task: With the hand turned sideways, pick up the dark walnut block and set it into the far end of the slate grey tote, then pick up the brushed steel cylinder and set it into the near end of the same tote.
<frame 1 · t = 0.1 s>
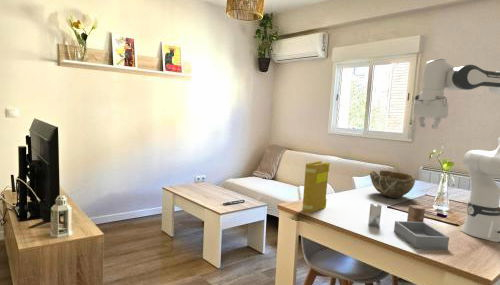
hand: (428, 127, 146), 48 cm above the table, tool pointing down, fingers open, 8 cm apart
bowl: (389, 196, 214), on the table
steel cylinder: (373, 225, 156), on the table
book: (312, 209, 177), on the table
walnut block: (414, 227, 157), on the table
tote: (419, 240, 141), on the table
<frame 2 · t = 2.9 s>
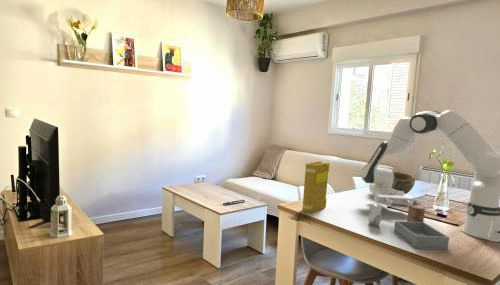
hand: (401, 204, 168), 8 cm above the table, tool horizontal, fingers open, 8 cm apart
nothing on the table moved.
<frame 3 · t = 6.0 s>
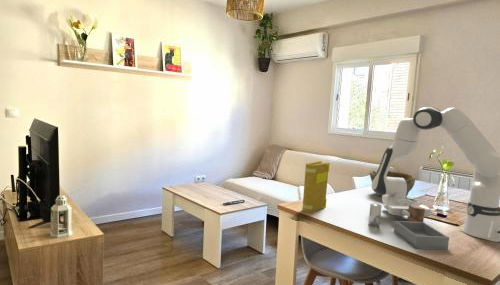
hand: (416, 215, 156), 6 cm above the table, tool horizontal, fingers closed on walnut block, 5 cm apart
walnut block: (414, 227, 157), on the table, touching gripper
everything else where it was.
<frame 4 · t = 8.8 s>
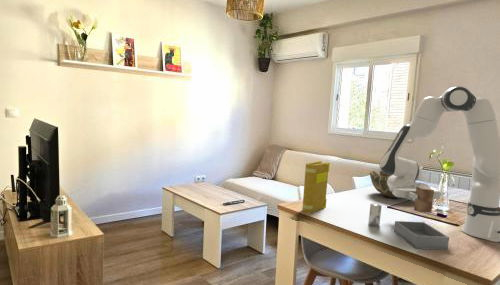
hand: (425, 197, 143), 18 cm above the table, tool horizontal, fingers closed on walnut block, 5 cm apart
walnut block: (422, 210, 145), point 12 cm above the table, touching gripper
everything else where it was.
when the fingers open (10 cm above the table, at t = 11.3 s): walnut block drops 3 cm, resting on tote.
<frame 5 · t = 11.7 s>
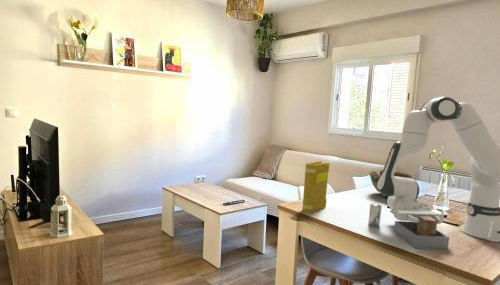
hand: (428, 221, 135), 10 cm above the table, tool horizontal, fingers open, 8 cm apart
walnut block: (424, 241, 137), point 1 cm above the table, touching tote
everything else where it was.
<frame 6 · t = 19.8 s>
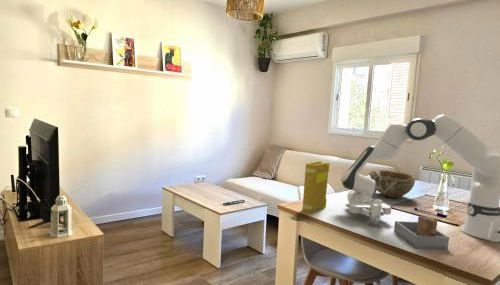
hand: (375, 213, 155), 6 cm above the table, tool horizontal, fingers closed on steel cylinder, 5 cm apart
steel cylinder: (373, 225, 156), on the table, touching gripper
everything else where it was.
when the fingers open (10 cm above the table, at t = 24.8 s): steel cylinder drops 3 cm, resting on tote.
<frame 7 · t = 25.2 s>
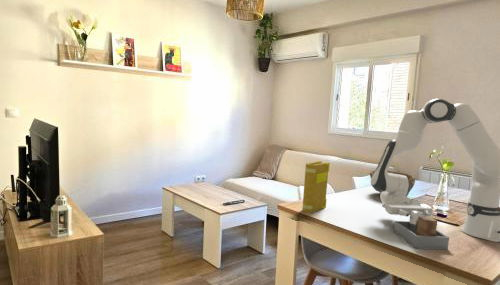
hand: (417, 215, 143), 10 cm above the table, tool horizontal, fingers open, 8 cm apart
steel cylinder: (414, 234, 145), point 1 cm above the table, touching tote
everything else where it was.
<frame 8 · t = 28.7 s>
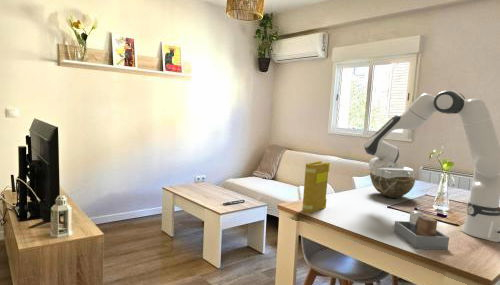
hand: (400, 175, 159), 24 cm above the table, tool horizontal, fingers open, 8 cm apart
nothing on the table moved.
at the end: walnut block inside the target area on the tote (4.0 cm from its centre), point 1.0 cm above the tote's base; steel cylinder inside the target area on the tote (4.0 cm from its centre), point 1.0 cm above the tote's base; the gripper is holding nothing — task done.
